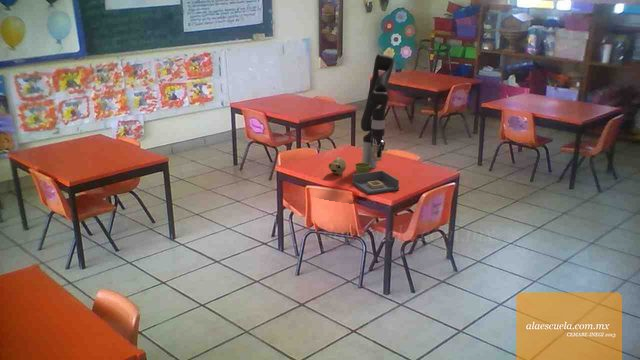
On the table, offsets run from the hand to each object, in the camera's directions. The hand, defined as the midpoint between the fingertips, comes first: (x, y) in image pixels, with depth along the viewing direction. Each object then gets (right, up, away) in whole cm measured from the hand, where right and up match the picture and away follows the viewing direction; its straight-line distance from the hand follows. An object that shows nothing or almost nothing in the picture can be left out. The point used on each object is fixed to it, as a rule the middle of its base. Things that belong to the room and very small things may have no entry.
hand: (376, 155), depth 344 cm
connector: (0, -2, +1) cm, 2 cm away
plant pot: (-7, -13, +21) cm, 26 cm away
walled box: (0, -18, +6) cm, 19 cm away
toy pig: (-22, -11, +28) cm, 37 cm away
